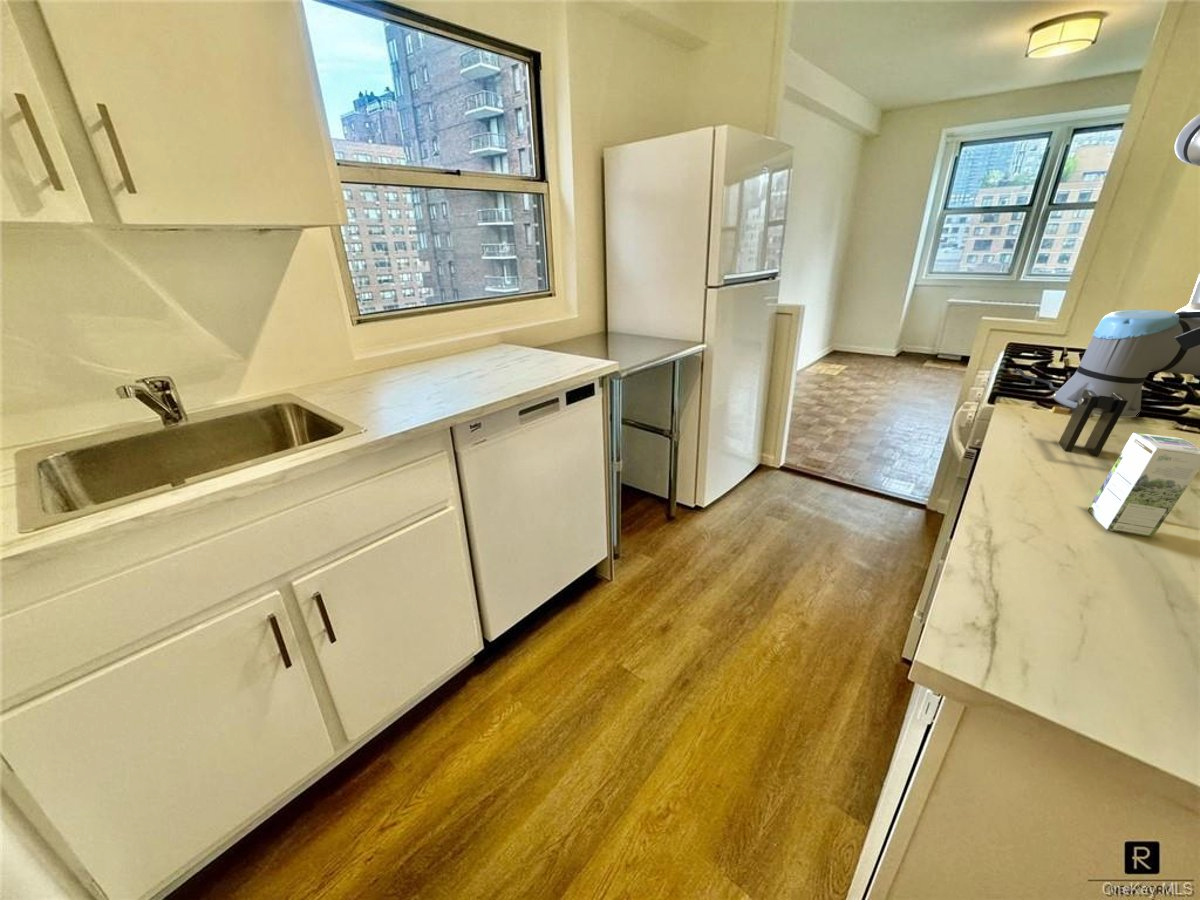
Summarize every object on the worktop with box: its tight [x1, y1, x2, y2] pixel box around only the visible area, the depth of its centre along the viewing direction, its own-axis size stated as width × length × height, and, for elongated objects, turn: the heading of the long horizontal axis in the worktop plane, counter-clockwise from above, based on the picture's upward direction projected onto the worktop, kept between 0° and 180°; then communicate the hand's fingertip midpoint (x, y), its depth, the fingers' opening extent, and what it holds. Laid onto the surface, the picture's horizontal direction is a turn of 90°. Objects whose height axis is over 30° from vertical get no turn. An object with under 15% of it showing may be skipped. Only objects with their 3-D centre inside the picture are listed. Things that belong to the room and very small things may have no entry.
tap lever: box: [1050, 395, 1114, 419], centre depth 96 cm, size 14×6×2 cm, turn 153°
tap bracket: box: [1058, 389, 1128, 458], centre depth 93 cm, size 10×9×13 cm
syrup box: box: [1087, 432, 1200, 538], centre depth 72 cm, size 6×6×14 cm
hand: (1180, 343), depth 88 cm, fingers closed
